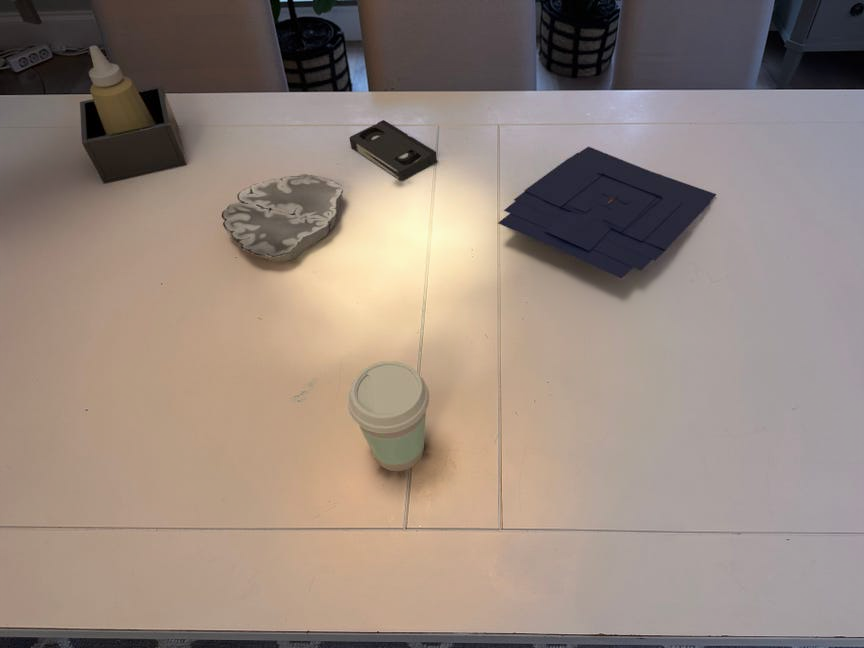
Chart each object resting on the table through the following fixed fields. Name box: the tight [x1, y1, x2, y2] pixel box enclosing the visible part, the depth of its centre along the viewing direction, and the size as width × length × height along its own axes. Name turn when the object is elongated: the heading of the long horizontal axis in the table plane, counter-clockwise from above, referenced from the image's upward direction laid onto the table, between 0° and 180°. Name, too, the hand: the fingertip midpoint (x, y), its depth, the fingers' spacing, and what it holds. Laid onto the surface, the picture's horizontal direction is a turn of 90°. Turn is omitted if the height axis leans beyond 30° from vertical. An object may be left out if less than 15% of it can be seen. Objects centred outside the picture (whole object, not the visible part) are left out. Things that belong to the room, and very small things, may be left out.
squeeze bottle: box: [88, 45, 156, 135], centre depth 111 cm, size 8×8×18 cm
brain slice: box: [221, 173, 344, 262], centre depth 104 cm, size 20×17×3 cm
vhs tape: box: [348, 119, 438, 182], centre depth 116 cm, size 14×8×2 cm, turn 44°
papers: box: [497, 146, 717, 280], centre depth 104 cm, size 24×30×4 cm
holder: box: [79, 85, 187, 185], centre depth 116 cm, size 14×14×8 cm
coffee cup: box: [347, 360, 430, 472], centre depth 74 cm, size 8×8×12 cm
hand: (68, 3), depth 99 cm, fingers open, 13 cm apart
